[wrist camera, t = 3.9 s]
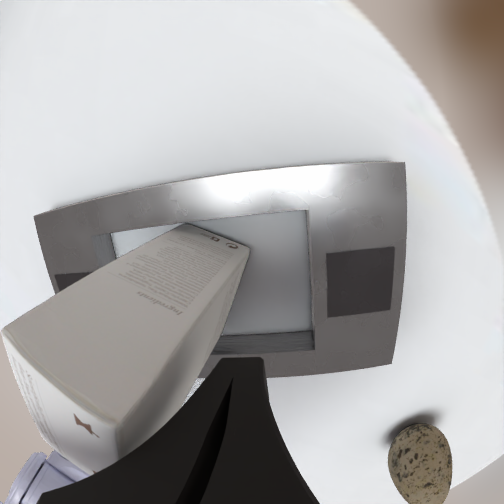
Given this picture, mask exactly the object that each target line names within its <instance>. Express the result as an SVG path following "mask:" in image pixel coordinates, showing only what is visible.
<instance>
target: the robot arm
mask: <svg viewBox="0 0 504 504" xmlns="http://www.w3.org/2000/svg"><path fill="white" fill-rule="evenodd" d="M46 457H47V456H46V455H45V454H44V453H43V452H40V453H33V454H32V455H31V457H30V458H29V459H28V460H27V462H26V463H25V465H24V467H23V468H22V469H21V471H20V472H19V474H18V476H17V477H16V479H15V481H14V482H13V484H12V487H11V488H10V491H9V496H8V497H7V499H6V501H5V503H4V504H320V503H319V502H318V500H317V499H316V497H315V496H314V494H313V493H312V491H311V490H310V488H309V487H308V485H307V483H306V482H305V480H304V479H303V477H302V476H301V474H300V472H299V470H298V468H297V467H296V465H295V463H294V461H293V459H292V457H291V455H290V453H289V451H288V449H287V447H286V445H285V443H284V441H283V438H282V436H281V434H280V431H279V429H278V426H277V424H276V421H275V418H274V416H273V413H272V410H271V406H270V403H269V395H268V387H267V380H266V372H265V365H264V359H262V358H261V357H235V358H221V359H220V360H219V362H218V363H217V364H216V366H215V367H214V368H213V370H212V371H211V372H210V374H209V375H208V376H207V378H206V379H205V380H204V381H203V383H202V384H201V385H200V387H199V388H198V389H197V390H196V391H195V392H194V394H193V395H192V396H191V397H190V398H189V400H188V401H187V402H186V403H185V404H184V405H183V406H182V407H181V408H180V409H179V410H178V412H177V413H176V414H175V415H174V416H173V417H172V418H171V419H170V420H169V421H168V422H167V423H166V424H165V425H164V426H163V427H161V428H160V429H159V430H158V431H157V432H156V433H155V434H154V435H152V436H151V437H150V438H149V439H148V440H146V441H145V442H144V443H143V444H141V445H140V446H139V447H137V448H136V449H134V450H133V451H132V452H130V453H129V454H127V455H126V456H124V457H123V458H121V459H120V460H118V461H117V462H115V463H113V464H112V465H110V466H108V467H106V468H104V469H102V470H101V471H99V472H97V473H95V474H93V475H89V474H88V473H86V472H85V471H83V470H82V469H80V468H79V467H77V466H76V465H74V464H73V463H72V462H70V461H69V460H67V459H66V458H65V457H63V456H62V455H61V454H59V453H58V452H57V451H56V450H54V451H52V453H51V454H50V456H49V458H48V459H47V460H46V459H45V458H46ZM0 504H3V503H2V502H1V501H0Z"/></svg>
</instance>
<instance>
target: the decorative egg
mask: <svg viewBox="0 0 504 504" xmlns="http://www.w3.org/2000/svg"><path fill="white" fill-rule="evenodd" d="M388 467H389V472H390V475H391V478H392V480H393V482H394V484H395V486H396V488H397V490H398V491H399V493H400V494H401V495H402V497H403V498H404V499H405V500H406V501H407V502H408V503H409V504H442V503H443V502H444V501H445V499H446V497H447V495H448V492H449V489H450V485H451V479H452V456H451V451H450V447H449V444H448V441H447V439H446V437H445V436H444V434H443V433H442V432H441V431H440V430H439V429H438V428H436V427H434V426H432V425H429V424H414V425H411V426H409V427H407V428H405V429H404V430H402V431H401V432H400V433H399V434H398V435H397V436H396V438H395V439H394V441H393V442H392V444H391V447H390V450H389V454H388Z"/></svg>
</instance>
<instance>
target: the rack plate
mask: <svg viewBox="0 0 504 504" xmlns="http://www.w3.org/2000/svg"><path fill="white" fill-rule="evenodd" d="M297 210H306V219H307V232H308V247H309V263H310V282H311V307H312V331H304V332H291V333H277V334H261V335H238V336H220V337H219V339H218V341H217V343H216V345H215V346H214V348H213V350H212V352H211V353H210V355H209V357H208V359H207V361H206V363H205V365H204V366H203V368H202V370H201V372H200V373H199V375H198V377H197V378H207V376H208V375H209V374H210V372H211V371H212V370H213V368H214V367H215V366H216V364H217V363H218V362H219V360H220V359H221V358H235V357H261V358H262V359H264V365H265V372H266V378H273V377H290V376H304V375H315V374H325V373H334V372H342V371H350V370H357V369H364V368H370V367H376V366H382V365H388V364H392V359H393V354H394V348H395V343H396V337H397V331H398V324H399V318H400V310H401V302H402V293H403V283H404V272H405V257H406V234H407V192H406V169H405V162H393V161H380V162H349V163H330V164H315V165H301V166H290V167H279V168H269V169H260V170H251V171H243V172H235V173H228V174H221V175H214V176H207V177H200V178H194V179H188V180H182V181H176V182H171V183H165V184H160V185H154V186H149V187H144V188H139V189H134V190H130V191H125V192H121V193H116V194H112V195H107V196H103V197H99V198H95V199H91V200H87V201H83V202H79V203H75V204H71V205H67V206H64V207H60V208H56V209H53V210H50V211H47V212H44V213H41V214H38V215H35V216H34V220H35V225H36V229H37V233H38V238H39V242H40V245H41V249H42V253H43V257H44V260H45V263H46V267H47V270H48V273H49V276H50V280H51V283H52V286H53V289H54V291H55V294H57V293H59V292H60V291H62V290H64V289H65V288H67V287H69V286H70V285H72V284H74V283H76V282H77V281H79V280H81V279H82V278H84V277H86V276H88V275H89V274H91V273H93V272H94V271H96V270H98V269H100V268H102V267H103V266H105V265H107V264H109V263H110V262H112V261H114V260H116V257H115V253H114V249H113V244H112V240H111V236H110V233H113V232H120V231H126V230H133V229H140V228H147V227H154V226H162V225H169V224H177V223H185V222H193V221H201V220H209V219H218V218H227V217H236V216H245V215H255V214H265V213H275V212H286V211H297Z"/></svg>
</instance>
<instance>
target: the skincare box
mask: <svg viewBox="0 0 504 504" xmlns="http://www.w3.org/2000/svg"><path fill="white" fill-rule="evenodd" d="M249 253H250V249H249V248H248V247H246V246H243V245H241V244H238V243H236V242H233V241H231V240H228V239H226V238H223V237H221V236H218V235H215V234H213V233H210V232H208V231H205V230H203V229H200V228H197V227H195V226H193V225H190V224H182V225H180V226H178V227H176V228H174V229H172V230H170V231H168V232H166V233H164V234H163V235H161V236H159V237H157V238H155V239H153V240H151V241H149V242H147V243H145V244H144V245H142V246H140V247H138V248H136V249H134V250H132V251H130V252H129V253H127V254H125V255H123V256H121V257H119V258H118V259H116V260H114V261H112V262H110V263H109V264H107V265H105V266H103V267H102V268H100V269H98V270H96V271H94V272H93V273H91V274H89V275H88V276H86V277H84V278H82V279H81V280H79V281H77V282H76V283H74V284H72V285H70V286H69V287H67V288H65V289H64V290H62V291H60V292H59V293H57V294H56V295H54V296H52V297H51V298H49V299H48V300H47V301H45V302H43V303H42V304H40V305H38V306H36V307H35V308H33V309H32V310H30V311H28V312H27V313H25V314H24V315H22V316H20V317H19V318H17V319H16V320H14V321H13V322H11V323H10V324H8V325H7V326H5V327H4V328H3V329H2V330H1V334H2V338H3V342H4V345H5V348H6V352H7V355H8V358H9V361H10V364H11V367H12V370H13V372H14V375H15V378H16V381H17V383H18V386H19V388H20V391H21V393H22V395H23V398H24V400H25V403H26V405H27V407H28V409H29V411H30V413H31V415H32V418H33V420H34V422H35V423H36V426H37V428H38V430H39V432H40V434H41V436H42V438H43V439H44V440H45V441H46V442H47V443H48V444H49V445H50V446H51V447H52V448H53V449H54V450H56V451H57V452H58V453H59V454H61V455H62V456H63V457H65V458H66V459H67V460H69V461H70V462H72V463H73V464H74V465H76V466H77V467H79V468H80V469H82V470H83V471H85V472H86V473H88V474H89V475H93V474H95V473H97V472H99V471H101V470H102V469H104V468H106V467H108V466H110V465H112V464H113V463H115V462H117V461H118V460H120V459H121V458H123V457H124V456H126V455H127V454H129V453H130V452H132V451H133V450H134V449H136V448H137V447H139V446H140V445H141V444H143V443H144V442H145V441H146V440H148V439H149V438H150V437H151V436H152V435H154V434H155V433H156V432H157V431H158V430H159V429H160V428H161V427H163V426H164V425H165V424H166V423H167V422H168V421H169V420H170V419H171V418H172V417H173V416H174V415H175V414H176V413H177V412H178V410H179V409H180V408H181V406H182V404H183V403H184V401H185V399H186V397H187V395H188V394H189V392H190V390H191V388H192V386H193V384H194V383H195V381H196V379H197V377H198V375H199V373H200V372H201V370H202V368H203V366H204V365H205V363H206V361H207V359H208V357H209V355H210V353H211V352H212V350H213V348H214V346H215V345H216V343H217V341H218V339H219V337H220V335H221V333H222V331H223V329H224V326H225V323H226V320H227V317H228V314H229V312H230V309H231V306H232V303H233V300H234V297H235V294H236V291H237V288H238V286H239V283H240V280H241V277H242V274H243V271H244V268H245V265H246V263H247V260H248V257H249Z"/></svg>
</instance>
